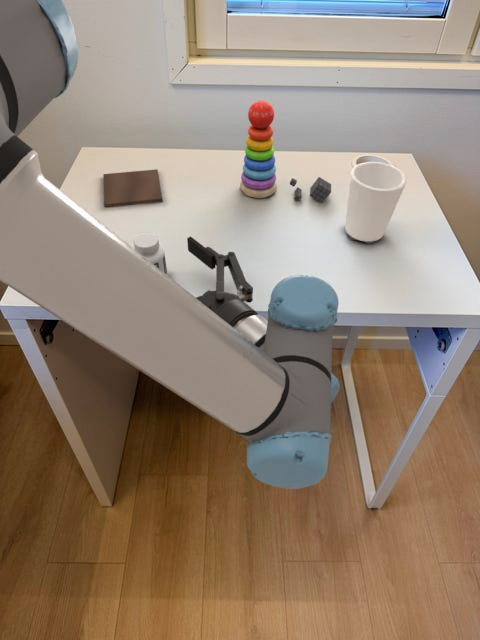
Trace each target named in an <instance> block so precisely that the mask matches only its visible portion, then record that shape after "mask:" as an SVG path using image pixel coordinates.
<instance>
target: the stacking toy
mask: <svg viewBox="0 0 480 640" xmlns="http://www.w3.org/2000/svg"><path fill="white" fill-rule="evenodd" d="M247 118H248V121H249V123H250V124H251V125H250V126H249V127H248V129H247V135H248V136H247V137H246V140H245V144H246V146H245V148H244V153H245V155H244V157H243V162H244V164H243V166H242V173H241V176H240V179H241V181H240V185H239V187H240V190H241V191H242V193H243V194H244V195H246V196H248V197H250V198H253V199H262V198H267V197H270V196H272V195H273V194H274V193H275V192H276V190H277V186H278V185H277V176H276V170H277V168H276V156H275V155H274V154H275V148H274V138H273V135H274V128H273V127H272V126H271V125H272V124H273V122H274V118H275V109H274V107H273V106H272V105H271V103H270V102H268V101H265V100H257V101H255V102H254V103H252V104H251V105H250V107H249V108H248V112H247Z"/></svg>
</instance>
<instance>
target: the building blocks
mask: <svg viewBox="0 0 480 640" xmlns="http://www.w3.org/2000/svg"><path fill="white" fill-rule="evenodd" d="M297 183H298V181H297V179H295V178H294V177H292V178H291V179H290V181H289V185H290V186H292V187H295V186H296V184H297ZM331 193H332V183H330V182H328V181H327V180H325V179H323V178H322V177H320V176H318V177H317V178H316V180H315V181H314V182H313V183H312V185H311V186H310V188H309V197H311V198H313V199H314V200H316V201H318V202H320V203H321V204H322V203H324V202H325V201H326V199H327V198H328V197H329V196H330V195H331ZM301 198H302V189H301V188H300V187H298V186H297V187H296V189H295V190H294V195H293V199H294V200H296V201H298V202H299V201H300V200H301Z"/></svg>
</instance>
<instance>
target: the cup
mask: <svg viewBox="0 0 480 640" xmlns="http://www.w3.org/2000/svg"><path fill="white" fill-rule="evenodd" d="M407 179H408V178H407V175H406V174H405V173H404V172H403V171H402V170H401V169H400V168H398V167H396V166H394V165H392V164H389V163H385V162H382V161H381V162H380V161H366V162H362V163H361V162H360V163H357V164H356V165H355V166H354V167H353V168H352V169H351V172H350V179H349V189H348V195H347V205H346V216H345V224H344V229H345V232H346V233H347V236H348V237H349V239H350V240H352V241H361V242H364V243H365V244H367V245H371V244H373V243H375V242H376V241H379V240H380V239H382V238H383V237H384V235H385V233H386V230H387V228H388V227H389V223H390V222H391V219H392V217H393V215H394V212H395V210H396V208H397V205H398V203H399V200H400V198H401V196H402V194H403V191H404V189H405V186H406V185H407Z"/></svg>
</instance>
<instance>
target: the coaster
mask: <svg viewBox="0 0 480 640" xmlns="http://www.w3.org/2000/svg"><path fill="white" fill-rule="evenodd" d="M102 177H103V205H104V208H113V207H121V206H122V207H123V206H133V205H142V204H151V203H162V202H163V200H164V199H163V196H162V193H163V192H162V188H161V181H160V176H159V170H158V169H157V168H155V169H147V170H134V171H133V170H132V171H123V172H111V173H103V176H102Z"/></svg>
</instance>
